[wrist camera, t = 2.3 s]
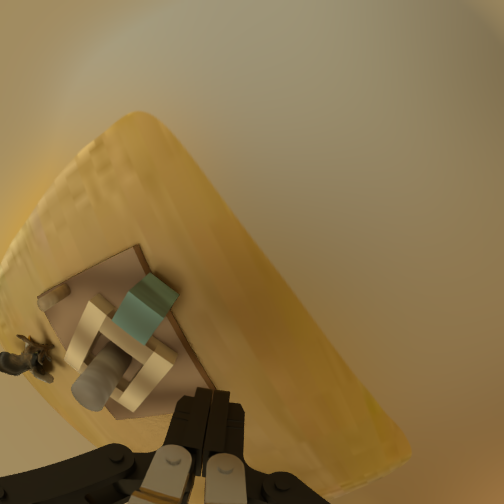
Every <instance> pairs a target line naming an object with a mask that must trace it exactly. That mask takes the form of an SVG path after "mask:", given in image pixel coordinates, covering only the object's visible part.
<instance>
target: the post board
mask: <svg viewBox="0 0 504 504" xmlns="http://www.w3.org/2000/svg"><path fill="white" fill-rule="evenodd" d="M149 273H151V271H150V269H149V266H148V264H147V262H146V260H145V258H144V256H143V253H142V251H141V249H140V247H139V244H138V245H135V246H133V247H131V248H129V249H127V250H125V251H123V252H121V253H119V254H117V255H115V256H113V257H111V258H109V259H107V260H105V261H103V262H101V263H99V264H97V265H95V266H93V267H91V268H89V269H87V270H85V271H83V272H81V273H79V274H77V275H76V276H74V277H72V278H70V279H68V280H66V281H64V282H62V283H61V284H59V285H57V286H55V287H53V288H51V289H50V290H48V291H46V292H44V293H42V294H41V295H39V296H37V298H38V299H39V298H41V297H43V296H44V295H46V294H48V293H49V292H51V291H53V290H54V289H56V288H58V287H59V286H61V285H63V284H67V285H68V286H69V287H70V290H71V293H70V295H69V296H67V297H66V298H64V299H63V300H61V301H60V302H58V303H57V304H55V305H54V306H52V307H51V308H49V309H48V310H46V311H45V312H44V313H45V315H46V316H47V318H48V320H49V322H50V324H51V326H52V328H53V330H54V331H55V333H56V335H57V337H58V338H59V340H60V342H61V343H62V345H63V347H64V348H65V350H66V352H67V349H68V347H69V344H70V342H71V340H72V337H73V335H74V333H75V330H76V328H77V326H78V323H79V321H80V319H81V317H82V314H83V312H84V310H85V308H86V306H87V304H88V302H89V300H90V299H92V298H93V297H94V296H96V295H97V294H98V293H99V294H100V295H101V296H103V297H104V298H105V299H106V300H107V301H108V302H110V303H111V304H112V305H113V306H115V307H116V308H117V309H118V308H119V306H120V305H121V303H122V301H123V299H124V298H125V296H126V294H127V293H128V291H129V290H130V289H131V288H133V287H134V286H135V285H136V284H137V283H138V282H139V281H141V280H142V279H143V278H144V277H145V276H146V275H148V274H149ZM152 336H153V337H155V338H156V339H158V340H159V341H160V342H162V343H163V344H165V345H166V346H168V347H169V348H170V349H172V350H173V351H175V352H176V353H178V356H177V358H176V361H175V363H174V365H173V366H172V368H171V369H170V370H169V371H168V372H167V374H166V375H165V376H164V377H163V378H162V379H161V381H160V382H159V383H158V384H157V385H156V387H155V388H154V389H153V390H152V391H151V392H150V394H149V395H148V396H147V397H146V398H145V400H144V401H143V402H142V403H141V404H140V405H139V407H138V408H137V409H136V410H135V411H134V412H132V411H130V410H129V409H127V408H126V407H124V406H123V405H121V404H120V403H118V402H117V401H115V400H114V399H112V398H111V397H110V395H111V394H112V392H113V391H114V389H115V387H116V386H117V384H118V383H119V381H120V379H121V378H122V377H123V378H125V379H126V380H127V381H129V382H130V381H131V380H132V378H133V377H134V376H135V374H136V373H137V372H138V370H139V369H140V367H141V366H142V365H143V364H142V363H140V362H139V361H138V360H136V359H135V358H133V357H132V356H131V355H129V354H128V353H127V352H125V351H124V350H123V349H121V348H120V347H119V346H117V345H116V344H115V343H113V342H112V341H111V340H110V339H108V338H107V337H106V336H105V335H103V334H102V333H101V334H100V336H99V338H98V340H97V342H96V344H95V346H94V348H93V350H92V352H91V353H92V354H93V355H94V356H95V358H94V359H93V361H92V362H91V363H90V364H89V365H88V367H87V368H86V369H85V370H84V371H83V373H82V374H81V375H80V376H79V377H78V379H77V380H76V381H75V382H74V384H73V385H72V387H71V391H72V394H73V396H74V397H75V399H76V400H77V401H78V402H79V403H80V404H81V405H82V406H84V407H85V408H87V409H89V410H91V411H101V410H102V408H103V407H104V406H105V407H106V408H107V409H108V410H109V412H110V413H111V414H112V415H113V416H114V418H115V419H116V420H122V419H132V418H141V417H149V416H156V415H163V414H170V413H174V410H175V407H176V404H177V401H178V400H180V399H181V398H182V397H183V396H184V395H186V396H191V397H194V396H195V392H196V388H197V387H202V388H208V389H213V393H214V389H215V390H216V388H215V387H214V385H213V384H212V382H211V381H210V379H209V377H208V376H207V374H206V372H205V371H204V369H203V368H202V366H201V364H200V363H199V361H198V359H197V358H196V356H195V354H194V352H193V351H192V349H191V347H190V345H189V344H188V342H187V340H186V338H185V337H184V335H183V333H182V331H181V329H180V328H179V326H178V324H177V322H176V320H175V318H174V317H173V315H172V313H171V311H170V310H169V311H168V313H167V314H166V316H165V317H164V319H163V320H162V322H161V323H160V324H159V326H158V327H157V329H156V330H155V331H154V333H153V334H152ZM212 399H213V395H212Z"/></svg>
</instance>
